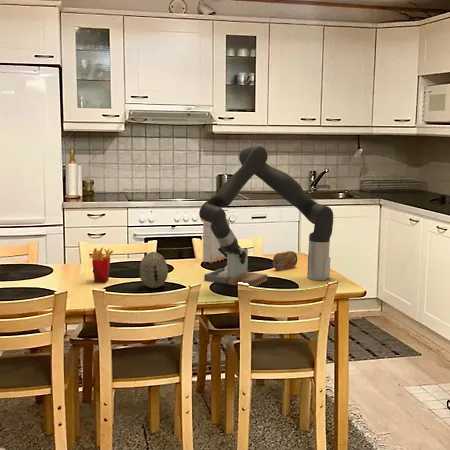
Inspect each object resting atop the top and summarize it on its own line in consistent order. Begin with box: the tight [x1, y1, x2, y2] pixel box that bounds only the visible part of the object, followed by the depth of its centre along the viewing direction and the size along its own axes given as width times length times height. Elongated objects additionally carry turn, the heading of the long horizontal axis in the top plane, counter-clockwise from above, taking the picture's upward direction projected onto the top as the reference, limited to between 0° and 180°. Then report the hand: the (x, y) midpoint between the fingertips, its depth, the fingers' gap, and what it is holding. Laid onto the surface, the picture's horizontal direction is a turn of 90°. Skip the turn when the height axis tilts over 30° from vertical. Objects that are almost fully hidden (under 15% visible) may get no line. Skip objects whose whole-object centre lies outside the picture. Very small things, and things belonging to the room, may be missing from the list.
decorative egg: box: [138, 251, 169, 289], centre depth 253 cm, size 12×12×15 cm
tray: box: [203, 267, 228, 285], centre depth 272 cm, size 11×15×3 cm
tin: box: [272, 250, 298, 271], centre depth 294 cm, size 15×3×8 cm, turn 131°
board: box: [226, 271, 268, 287], centre depth 266 cm, size 12×14×3 cm
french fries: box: [91, 246, 114, 284], centre depth 260 cm, size 9×8×15 cm
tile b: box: [218, 271, 228, 278], centre depth 268 cm, size 4×4×3 cm
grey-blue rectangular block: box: [226, 249, 249, 277], centre depth 268 cm, size 4×12×10 cm, turn 150°
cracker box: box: [202, 218, 230, 264], centre depth 307 cm, size 14×6×21 cm, turn 141°
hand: (239, 261), depth 269 cm, fingers closed on grey-blue rectangular block, 3 cm apart
